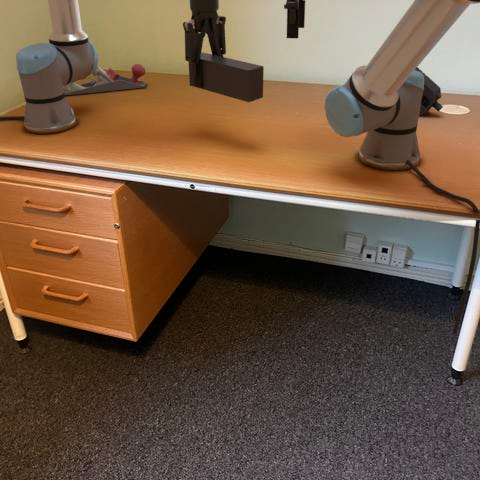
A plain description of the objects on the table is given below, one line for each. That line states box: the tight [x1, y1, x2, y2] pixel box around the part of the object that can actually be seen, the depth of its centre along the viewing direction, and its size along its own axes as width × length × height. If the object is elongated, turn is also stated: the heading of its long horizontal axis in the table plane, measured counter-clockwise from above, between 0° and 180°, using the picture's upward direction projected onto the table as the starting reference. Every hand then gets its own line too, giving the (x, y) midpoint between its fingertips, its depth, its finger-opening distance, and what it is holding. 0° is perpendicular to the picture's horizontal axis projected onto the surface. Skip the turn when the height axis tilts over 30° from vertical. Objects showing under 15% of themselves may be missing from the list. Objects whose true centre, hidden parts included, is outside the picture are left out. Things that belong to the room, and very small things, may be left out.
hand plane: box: [63, 63, 146, 96], centre depth 194 cm, size 7×31×15 cm, turn 107°
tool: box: [415, 67, 444, 116], centre depth 168 cm, size 6×19×15 cm, turn 51°
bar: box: [188, 52, 265, 103], centre depth 143 cm, size 22×6×8 cm, turn 47°
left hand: (207, 84), depth 149 cm, fingers closed on bar, 6 cm apart
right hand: (295, 32), depth 132 cm, fingers open, 13 cm apart
